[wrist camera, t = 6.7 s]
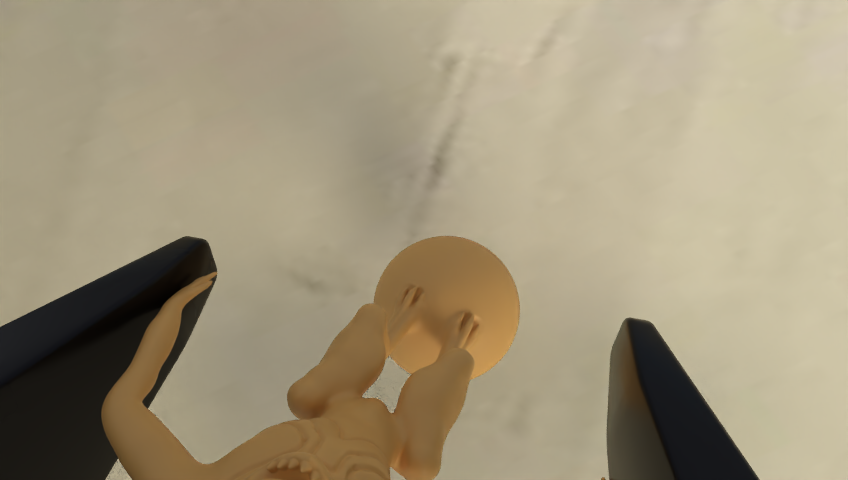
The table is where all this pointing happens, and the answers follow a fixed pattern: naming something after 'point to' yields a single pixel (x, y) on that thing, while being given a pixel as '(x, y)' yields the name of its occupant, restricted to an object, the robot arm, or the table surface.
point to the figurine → (346, 378)
